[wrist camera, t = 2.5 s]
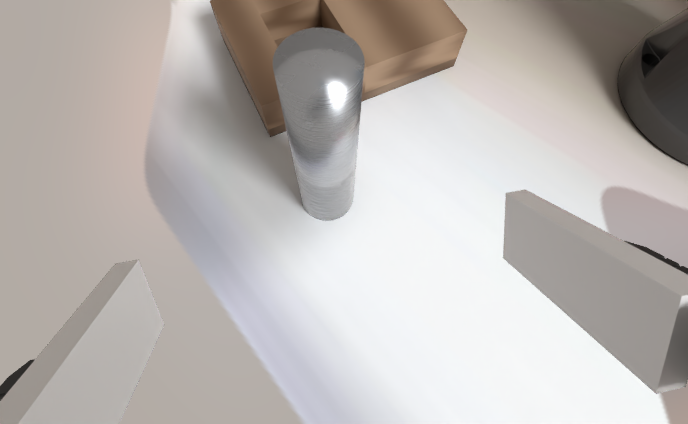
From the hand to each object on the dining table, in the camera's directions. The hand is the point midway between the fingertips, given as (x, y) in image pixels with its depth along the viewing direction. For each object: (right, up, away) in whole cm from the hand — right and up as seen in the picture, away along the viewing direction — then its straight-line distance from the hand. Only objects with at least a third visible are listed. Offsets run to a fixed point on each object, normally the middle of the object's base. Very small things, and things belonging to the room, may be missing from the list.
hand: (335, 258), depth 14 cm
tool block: (0, +16, +21) cm, 27 cm away
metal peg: (-1, +3, +16) cm, 16 cm away
